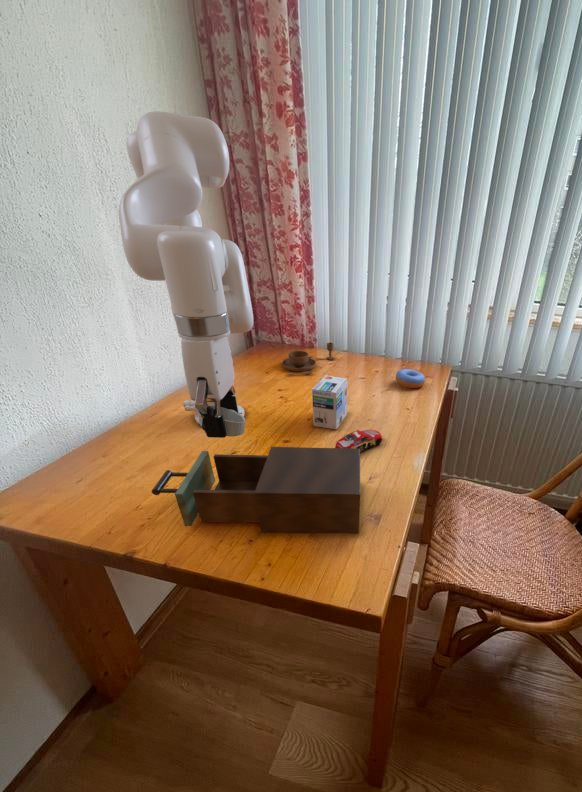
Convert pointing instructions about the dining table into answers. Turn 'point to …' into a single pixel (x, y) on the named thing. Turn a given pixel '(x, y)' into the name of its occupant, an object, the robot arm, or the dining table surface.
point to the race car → (360, 440)
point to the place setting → (303, 361)
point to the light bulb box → (329, 402)
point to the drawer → (217, 488)
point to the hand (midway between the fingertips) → (223, 425)
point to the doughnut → (410, 378)
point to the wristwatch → (229, 421)
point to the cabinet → (309, 491)
